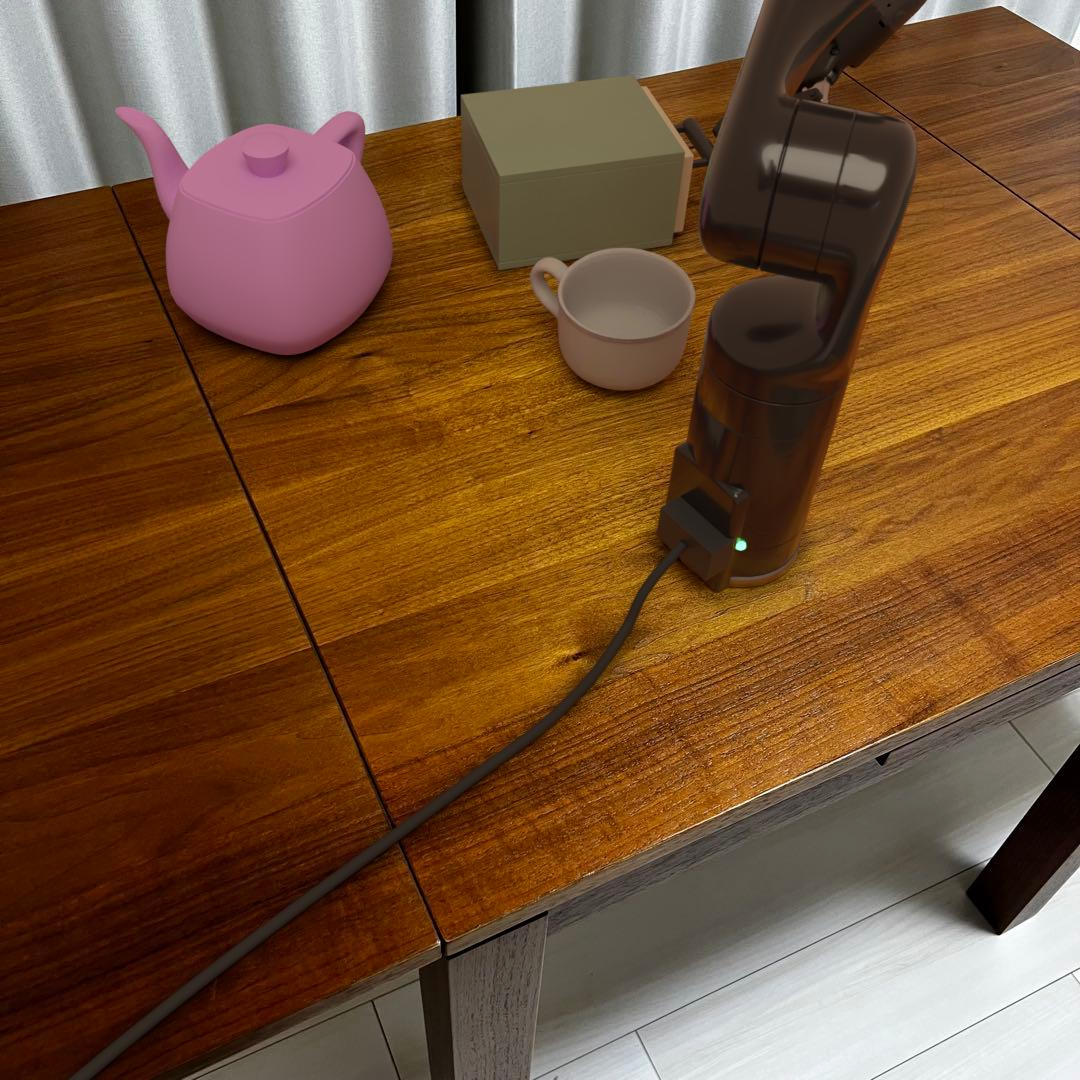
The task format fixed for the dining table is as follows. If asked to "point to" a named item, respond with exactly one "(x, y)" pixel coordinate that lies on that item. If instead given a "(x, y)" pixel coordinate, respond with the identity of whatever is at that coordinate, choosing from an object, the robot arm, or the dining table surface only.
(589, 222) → the cabinet
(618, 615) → the dining table surface
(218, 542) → the dining table surface
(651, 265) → the teacup
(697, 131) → the drawer
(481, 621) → the dining table surface
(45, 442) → the dining table surface
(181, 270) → the teapot
